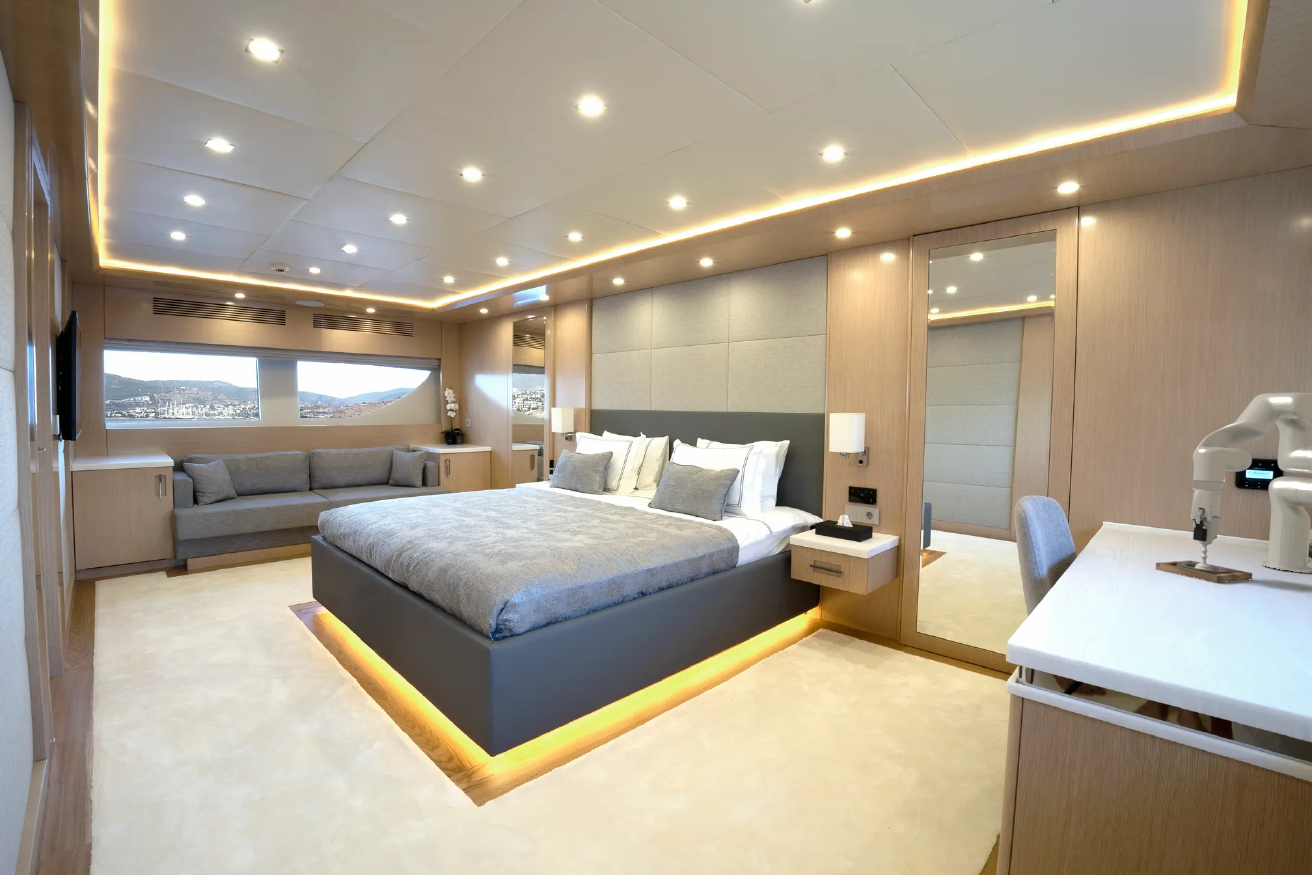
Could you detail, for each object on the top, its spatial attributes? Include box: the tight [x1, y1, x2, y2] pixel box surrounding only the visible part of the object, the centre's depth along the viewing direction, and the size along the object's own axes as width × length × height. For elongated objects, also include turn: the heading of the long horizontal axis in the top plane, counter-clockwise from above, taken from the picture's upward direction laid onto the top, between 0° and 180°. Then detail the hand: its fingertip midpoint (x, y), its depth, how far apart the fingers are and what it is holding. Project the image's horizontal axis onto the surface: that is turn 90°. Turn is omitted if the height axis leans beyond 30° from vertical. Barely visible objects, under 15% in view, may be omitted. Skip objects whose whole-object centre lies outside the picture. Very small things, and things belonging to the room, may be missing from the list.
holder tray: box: [1155, 560, 1253, 584], centre depth 197 cm, size 17×17×2 cm
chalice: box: [1192, 516, 1222, 570], centre depth 197 cm, size 7×7×18 cm
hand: (1204, 539), depth 197 cm, fingers open, 9 cm apart
